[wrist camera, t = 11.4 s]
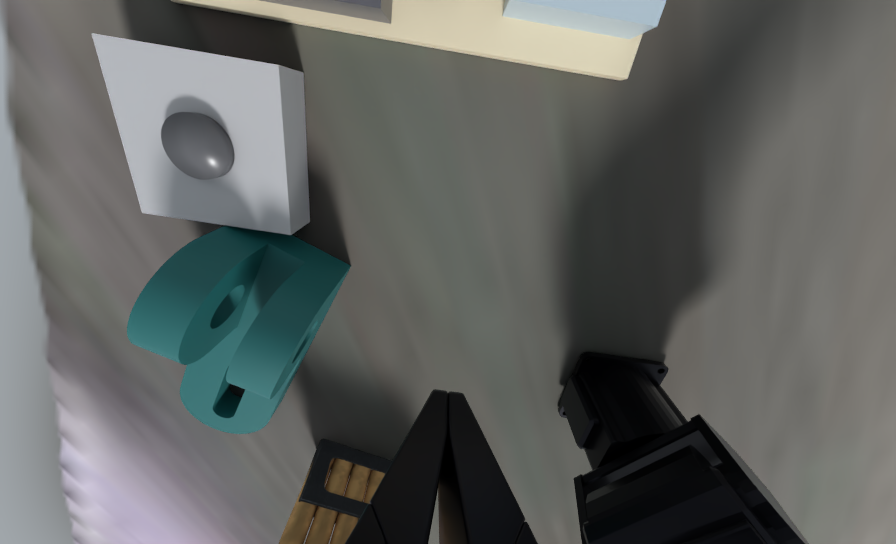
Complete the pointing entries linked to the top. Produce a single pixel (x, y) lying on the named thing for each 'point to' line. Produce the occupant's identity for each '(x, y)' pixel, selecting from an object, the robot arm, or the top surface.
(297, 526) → the ammunition clip
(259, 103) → the grey knob block
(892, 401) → the top surface
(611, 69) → the board
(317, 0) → the frame
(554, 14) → the header 3pin
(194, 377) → the bracket
